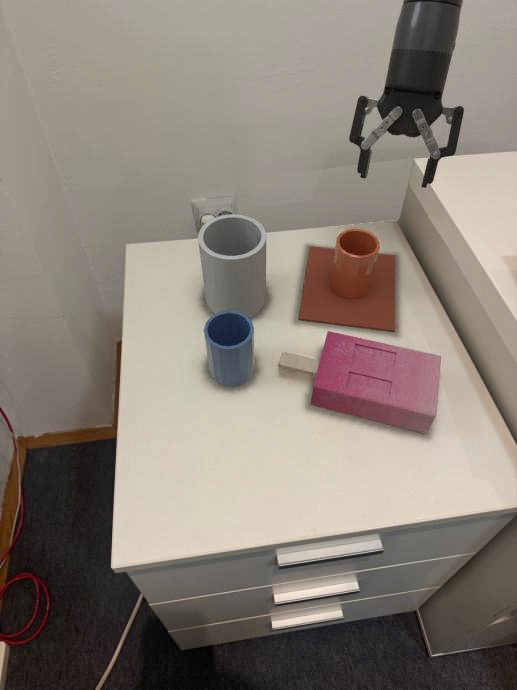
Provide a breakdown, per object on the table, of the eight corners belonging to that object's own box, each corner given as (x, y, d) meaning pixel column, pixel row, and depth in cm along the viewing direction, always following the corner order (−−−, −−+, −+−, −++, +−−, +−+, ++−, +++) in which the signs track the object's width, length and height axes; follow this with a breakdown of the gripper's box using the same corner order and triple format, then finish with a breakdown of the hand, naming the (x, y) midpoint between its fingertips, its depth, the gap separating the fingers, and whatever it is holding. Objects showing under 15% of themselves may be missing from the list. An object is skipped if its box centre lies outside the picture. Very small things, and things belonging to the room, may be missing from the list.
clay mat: (394, 257, 80) (394, 255, 79) (394, 332, 70) (395, 330, 70) (309, 247, 81) (309, 246, 81) (298, 320, 72) (298, 318, 71)
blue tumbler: (257, 353, 68) (257, 313, 61) (249, 389, 64) (248, 351, 58) (215, 347, 69) (210, 307, 62) (205, 383, 65) (198, 345, 58)
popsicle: (270, 395, 64) (425, 434, 60) (271, 375, 60) (436, 415, 57) (287, 342, 69) (430, 375, 66) (289, 320, 65) (441, 354, 62)
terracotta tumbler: (369, 273, 77) (380, 231, 70) (368, 301, 73) (379, 259, 67) (331, 269, 78) (337, 226, 71) (328, 296, 74) (334, 254, 67)
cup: (193, 301, 74) (184, 240, 64) (231, 268, 78) (227, 206, 69) (241, 329, 71) (238, 269, 61) (277, 292, 75) (279, 231, 65)
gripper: (361, 42, 60) (339, 178, 68) (483, 51, 57) (444, 194, 64) (370, 48, 67) (348, 172, 74) (479, 57, 63) (445, 186, 70)
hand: (393, 182), depth 69 cm, fingers open, 8 cm apart
